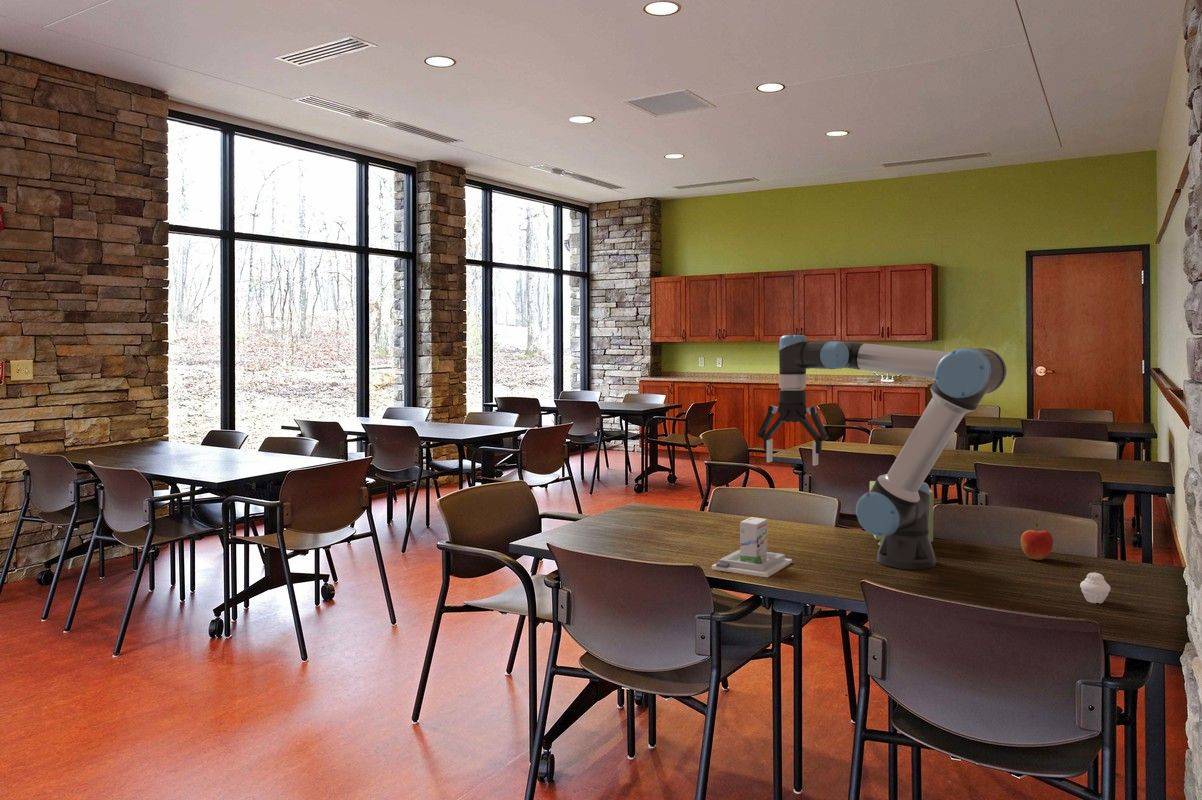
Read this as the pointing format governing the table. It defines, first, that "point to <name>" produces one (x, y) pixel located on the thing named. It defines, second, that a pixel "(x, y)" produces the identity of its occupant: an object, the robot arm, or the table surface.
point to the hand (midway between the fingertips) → (792, 463)
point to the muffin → (1095, 588)
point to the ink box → (753, 540)
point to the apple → (1036, 544)
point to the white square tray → (752, 564)
